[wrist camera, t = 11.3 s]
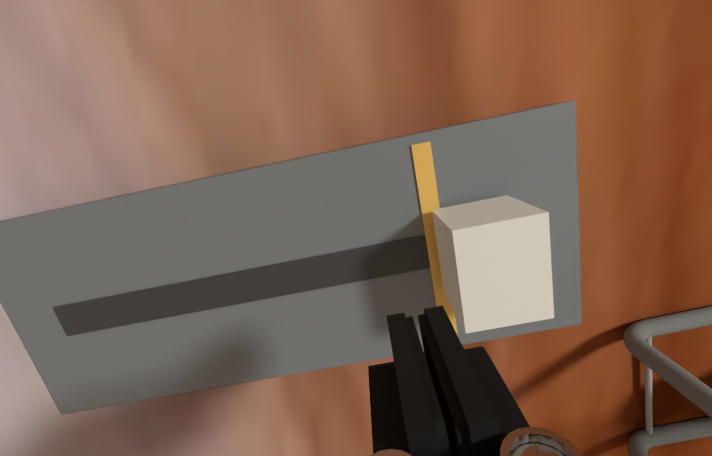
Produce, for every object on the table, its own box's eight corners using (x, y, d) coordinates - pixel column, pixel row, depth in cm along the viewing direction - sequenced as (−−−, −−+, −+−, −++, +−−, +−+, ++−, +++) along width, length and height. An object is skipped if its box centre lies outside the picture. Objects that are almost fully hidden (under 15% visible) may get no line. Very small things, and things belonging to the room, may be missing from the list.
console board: (-3, 221, 21) (-42, 230, 19) (553, 103, 19) (576, 100, 17) (84, 392, 24) (59, 415, 22) (562, 307, 22) (583, 324, 20)
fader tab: (430, 209, 18) (451, 230, 14) (505, 194, 18) (548, 212, 14) (443, 292, 19) (465, 333, 15) (512, 279, 19) (554, 318, 15)
